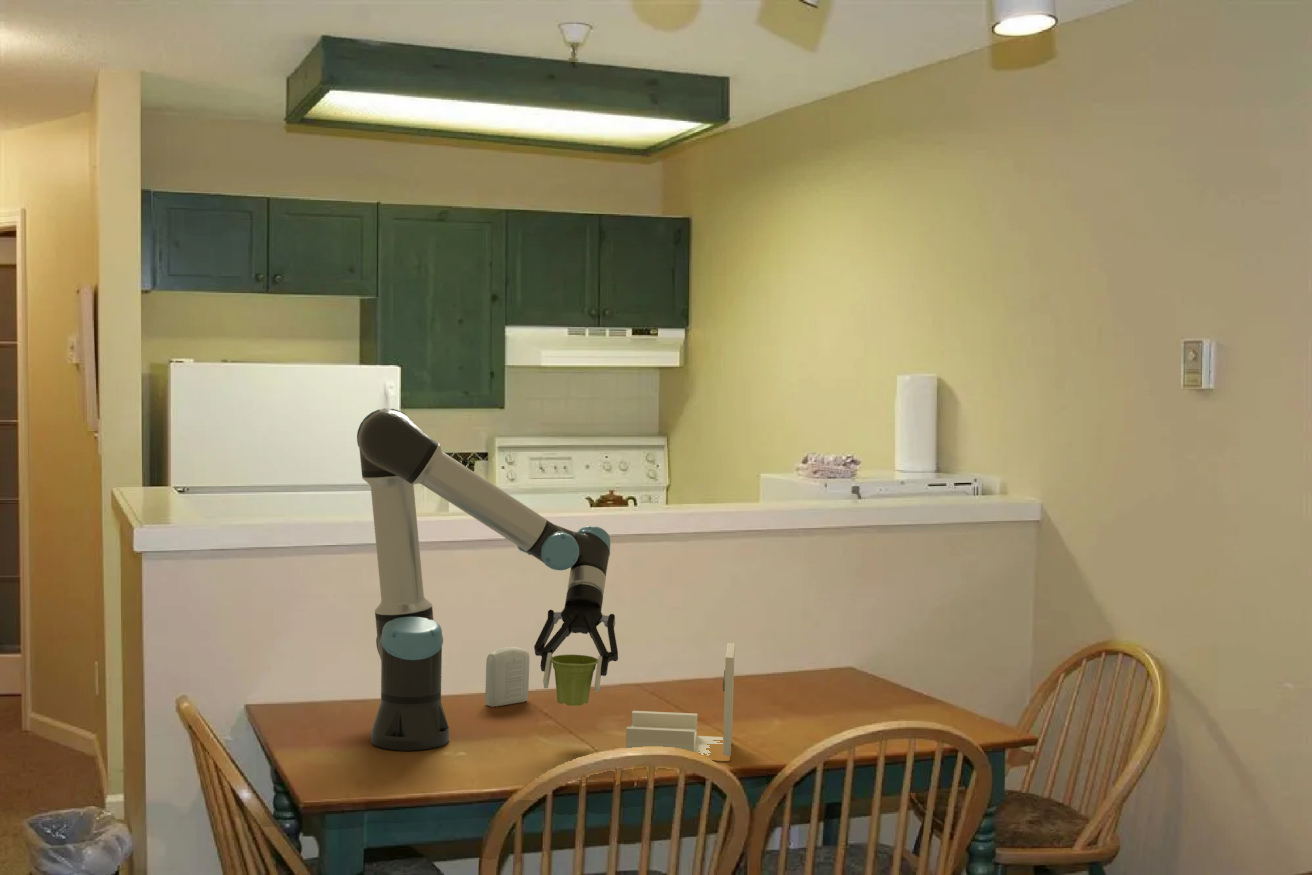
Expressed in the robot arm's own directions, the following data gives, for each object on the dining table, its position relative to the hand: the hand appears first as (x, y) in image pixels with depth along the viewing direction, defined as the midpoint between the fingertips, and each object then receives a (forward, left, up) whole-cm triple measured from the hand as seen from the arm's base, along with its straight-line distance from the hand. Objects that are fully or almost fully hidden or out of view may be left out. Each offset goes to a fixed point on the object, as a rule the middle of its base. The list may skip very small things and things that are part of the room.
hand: (571, 686), depth 275 cm
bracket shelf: (+18, -11, -12) cm, 25 cm away
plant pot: (+2, +3, -4) cm, 5 cm away
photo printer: (+3, +37, -12) cm, 39 cm away
